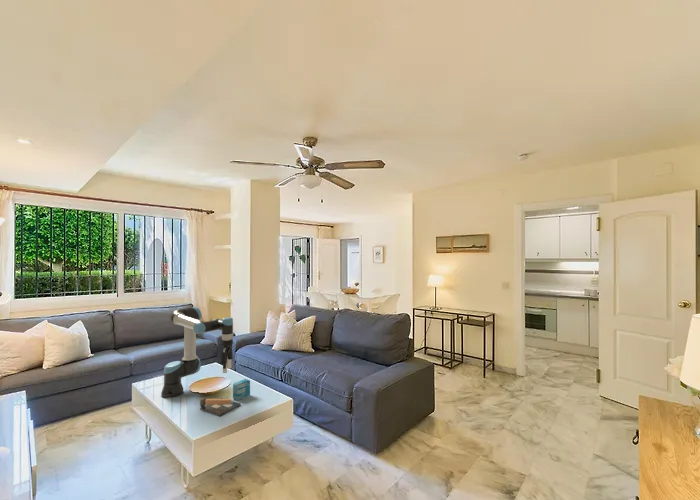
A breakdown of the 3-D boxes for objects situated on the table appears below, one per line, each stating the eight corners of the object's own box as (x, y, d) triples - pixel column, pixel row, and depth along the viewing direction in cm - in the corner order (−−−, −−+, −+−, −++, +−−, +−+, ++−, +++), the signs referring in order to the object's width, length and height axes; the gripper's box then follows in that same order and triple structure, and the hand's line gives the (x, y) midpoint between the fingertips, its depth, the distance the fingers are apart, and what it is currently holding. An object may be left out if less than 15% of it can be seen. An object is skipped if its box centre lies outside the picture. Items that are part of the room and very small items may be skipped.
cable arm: (199, 406, 225) (199, 400, 225) (201, 403, 228) (201, 397, 228) (229, 405, 225) (229, 399, 225) (231, 403, 229) (231, 397, 229)
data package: (236, 401, 239) (236, 384, 239) (232, 399, 242) (232, 383, 242) (250, 395, 249) (250, 379, 249) (246, 394, 251) (246, 378, 252)
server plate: (199, 409, 226) (199, 405, 226) (221, 399, 241) (221, 395, 241) (219, 416, 216) (219, 412, 216) (240, 405, 232) (240, 401, 232)
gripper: (227, 343, 226) (227, 375, 226) (237, 335, 248) (237, 365, 247) (216, 343, 226) (216, 376, 225) (227, 335, 247) (227, 365, 247)
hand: (227, 370), depth 236 cm, fingers open, 9 cm apart
